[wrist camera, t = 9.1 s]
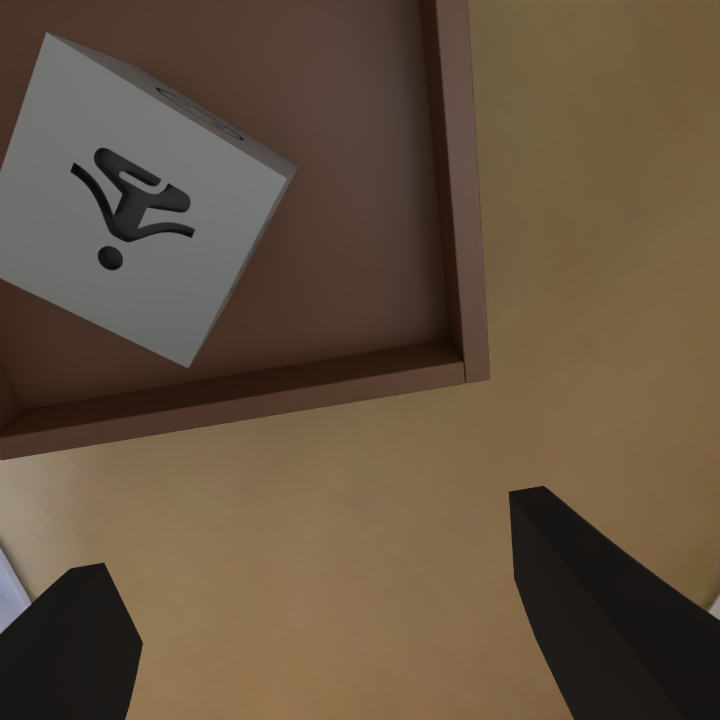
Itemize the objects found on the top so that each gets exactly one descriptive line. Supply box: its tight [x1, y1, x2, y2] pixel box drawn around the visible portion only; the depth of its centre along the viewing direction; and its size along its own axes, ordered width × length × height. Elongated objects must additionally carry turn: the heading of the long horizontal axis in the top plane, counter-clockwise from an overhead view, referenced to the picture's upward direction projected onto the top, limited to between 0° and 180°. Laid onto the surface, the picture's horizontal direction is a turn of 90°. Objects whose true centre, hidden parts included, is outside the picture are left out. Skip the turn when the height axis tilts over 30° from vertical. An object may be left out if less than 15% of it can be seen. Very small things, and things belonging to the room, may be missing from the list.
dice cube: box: [0, 32, 299, 368], centre depth 13 cm, size 5×5×5 cm
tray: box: [0, 0, 490, 460], centre depth 15 cm, size 17×14×2 cm
